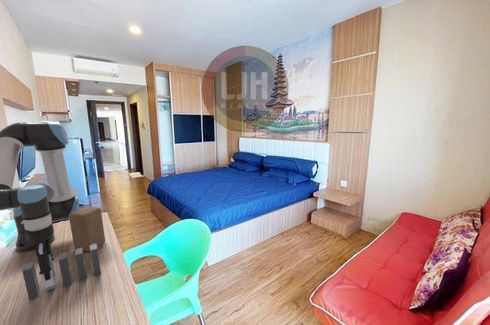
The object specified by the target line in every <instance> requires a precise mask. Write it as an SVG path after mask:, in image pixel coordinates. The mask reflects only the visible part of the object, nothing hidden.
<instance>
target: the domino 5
mask: <svg viewBox="0 0 490 325" xmlns="http://www.w3.org/2000/svg"><path fill="white" fill-rule="evenodd" d="M90 256H91V263H92V269H93V275H94V277H96V276H98V275H101V274H102V272H101V271H102V270H101V264H100V257H99V251H98V247H97V245H96V244H92V245H90Z"/></svg>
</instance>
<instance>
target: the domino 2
mask: <svg viewBox="0 0 490 325" xmlns="http://www.w3.org/2000/svg"><path fill="white" fill-rule="evenodd" d="M49 261H50V267H51V269H52V273H53V278H54V283H55V285H52V286H50V287H47V288H45V291H50V290H53V289H55V288H56V274H55V275H54V271H55V269H54V270H53V266H54V264H53V265H52V260H51V255H50V254H49Z"/></svg>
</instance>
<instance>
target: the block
mask: <svg viewBox="0 0 490 325" xmlns="http://www.w3.org/2000/svg"><path fill="white" fill-rule="evenodd" d="M68 220H69V225H70V231H71V236H72V242H73V247H74V250H75V249H78V248H82V250H83V252H90V245H92V244H96V245H97V248H98V247H99V246H102V245H103V244H105V242H106V236H105V231H104V230H105V229H104V223H103V216H102V209H101V208H100V207H92V206H84V207H82V208H79V210H77V211H75V212H73V213H70V214H69V219H68ZM90 253H91V252H90Z"/></svg>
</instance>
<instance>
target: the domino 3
mask: <svg viewBox="0 0 490 325" xmlns="http://www.w3.org/2000/svg"><path fill="white" fill-rule="evenodd" d="M68 256H69V255H68V252H67V251H66V252H65V251H64V252H62V253H59V254H58V264H59V268H60V273H61V278H62V283H63V288H66V287H68V286H71V285H73V284H72V283H73V281H72V280H73V277H72V271H71V265H70V259H69V257H68Z"/></svg>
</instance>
